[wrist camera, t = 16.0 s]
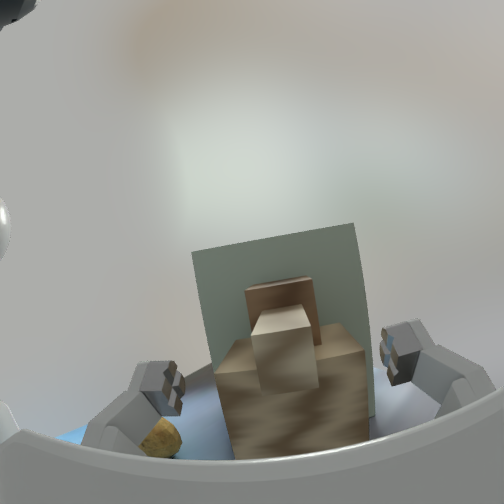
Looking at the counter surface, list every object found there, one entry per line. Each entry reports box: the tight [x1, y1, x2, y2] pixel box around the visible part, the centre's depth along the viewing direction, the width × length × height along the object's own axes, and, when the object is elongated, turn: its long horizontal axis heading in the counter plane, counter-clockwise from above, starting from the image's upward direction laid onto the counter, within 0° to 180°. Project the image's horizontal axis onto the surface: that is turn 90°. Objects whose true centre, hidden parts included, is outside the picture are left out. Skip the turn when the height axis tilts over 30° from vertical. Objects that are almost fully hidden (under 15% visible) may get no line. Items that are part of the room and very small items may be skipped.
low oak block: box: [214, 323, 369, 460], centre depth 26 cm, size 12×11×15 cm
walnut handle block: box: [244, 275, 322, 396], centre depth 24 cm, size 6×16×6 cm, turn 174°
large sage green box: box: [192, 223, 375, 417], centre depth 40 cm, size 20×12×26 cm, turn 84°
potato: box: [138, 417, 182, 458], centre depth 32 cm, size 7×11×6 cm, turn 44°
